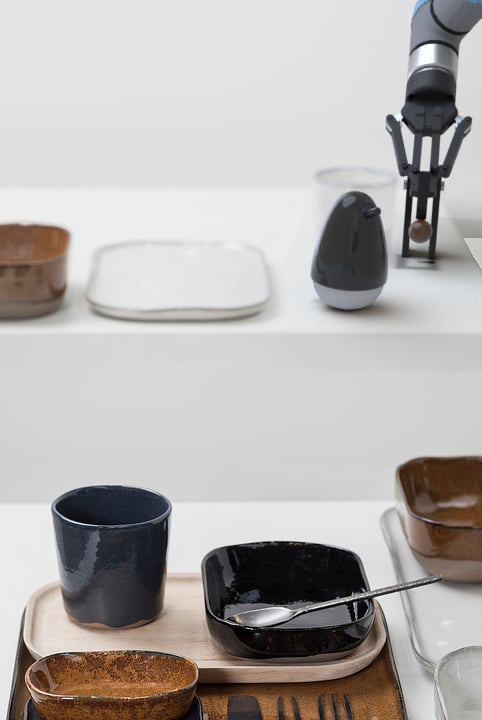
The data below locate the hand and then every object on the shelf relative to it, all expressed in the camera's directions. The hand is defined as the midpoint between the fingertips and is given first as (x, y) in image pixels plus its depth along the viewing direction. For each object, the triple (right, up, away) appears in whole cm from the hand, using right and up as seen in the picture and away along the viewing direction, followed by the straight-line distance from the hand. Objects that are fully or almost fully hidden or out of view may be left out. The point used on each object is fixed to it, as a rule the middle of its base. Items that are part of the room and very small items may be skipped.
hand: (421, 213), depth 157 cm
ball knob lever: (+1, 0, +5) cm, 5 cm away
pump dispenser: (-12, -14, -11) cm, 22 cm away
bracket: (+2, -6, +11) cm, 12 cm away
